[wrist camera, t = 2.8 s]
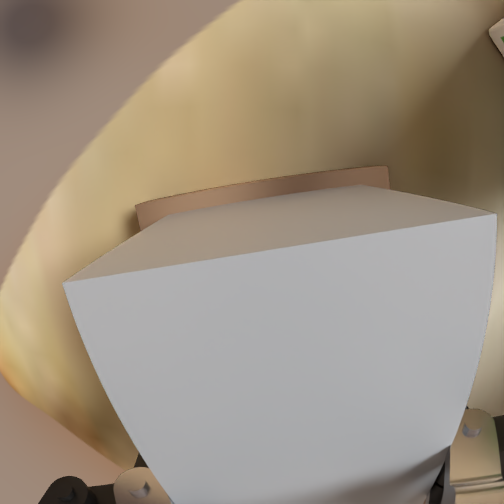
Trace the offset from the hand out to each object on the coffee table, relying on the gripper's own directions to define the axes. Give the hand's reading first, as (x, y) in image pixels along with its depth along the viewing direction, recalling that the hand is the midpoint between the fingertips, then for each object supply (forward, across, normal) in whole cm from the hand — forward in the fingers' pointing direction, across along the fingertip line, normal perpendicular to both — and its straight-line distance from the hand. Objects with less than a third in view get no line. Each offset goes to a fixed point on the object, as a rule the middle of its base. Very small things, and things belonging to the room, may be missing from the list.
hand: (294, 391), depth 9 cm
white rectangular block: (+1, 0, 0) cm, 1 cm away
